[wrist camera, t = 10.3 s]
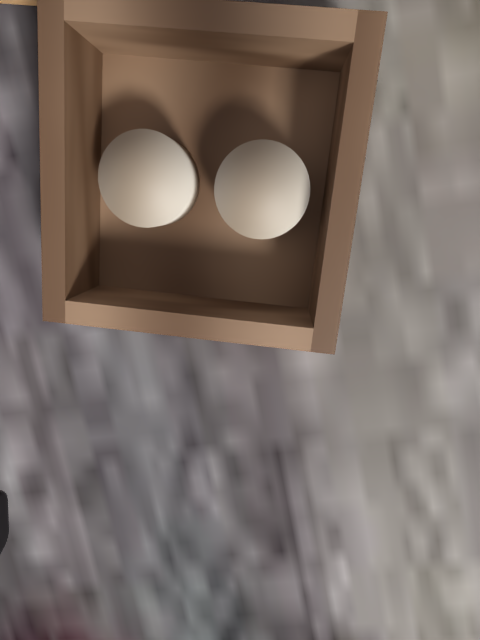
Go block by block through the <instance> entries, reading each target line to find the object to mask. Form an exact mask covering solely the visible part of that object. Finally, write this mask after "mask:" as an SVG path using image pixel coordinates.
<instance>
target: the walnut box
mask: <svg viewBox="0 0 480 640" xmlns="http://www.w3.org/2000/svg"><path fill="white" fill-rule="evenodd" d="M387 13H388V12H384V11H370V10H356V9H342V8H328V7H314V6H300V5H285V4H271V3H257V2H243V1H229V0H37V20H38V77H39V134H40V192H41V249H42V307H43V321H49V322H58V323H66V324H75V325H84V326H92V327H101V328H110V329H118V330H127V331H136V332H144V333H153V334H162V335H170V336H179V337H188V338H196V339H205V340H214V341H222V342H231V343H240V344H248V345H257V346H265V347H274V348H283V349H291V350H300V351H309V352H317V353H326V354H335V349H336V342H337V336H338V329H339V323H340V317H341V310H342V304H343V297H344V291H345V284H346V278H347V271H348V265H349V258H350V252H351V245H352V239H353V233H354V226H355V220H356V213H357V207H358V200H359V194H360V187H361V181H362V174H363V168H364V161H365V155H366V149H367V142H368V136H369V129H370V123H371V116H372V110H373V103H374V97H375V90H376V84H377V77H378V71H379V65H380V58H381V52H382V45H383V39H384V32H385V26H386V19H387Z"/></svg>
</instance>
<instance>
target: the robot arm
mask: <svg viewBox="0 0 480 640" xmlns="http://www.w3.org/2000/svg"><path fill="white" fill-rule="evenodd" d="M8 534H9V519H8V499H7V495H6V493H5V492H4V491H2V490H0V554H1V552H2V550H3V548H4V546H5V544H6V541H7V538H8Z"/></svg>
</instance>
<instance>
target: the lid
mask: <svg viewBox="0 0 480 640" xmlns="http://www.w3.org/2000/svg"><path fill="white" fill-rule="evenodd" d="M0 3H3V4H17V5H31V6H37V0H0Z"/></svg>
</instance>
